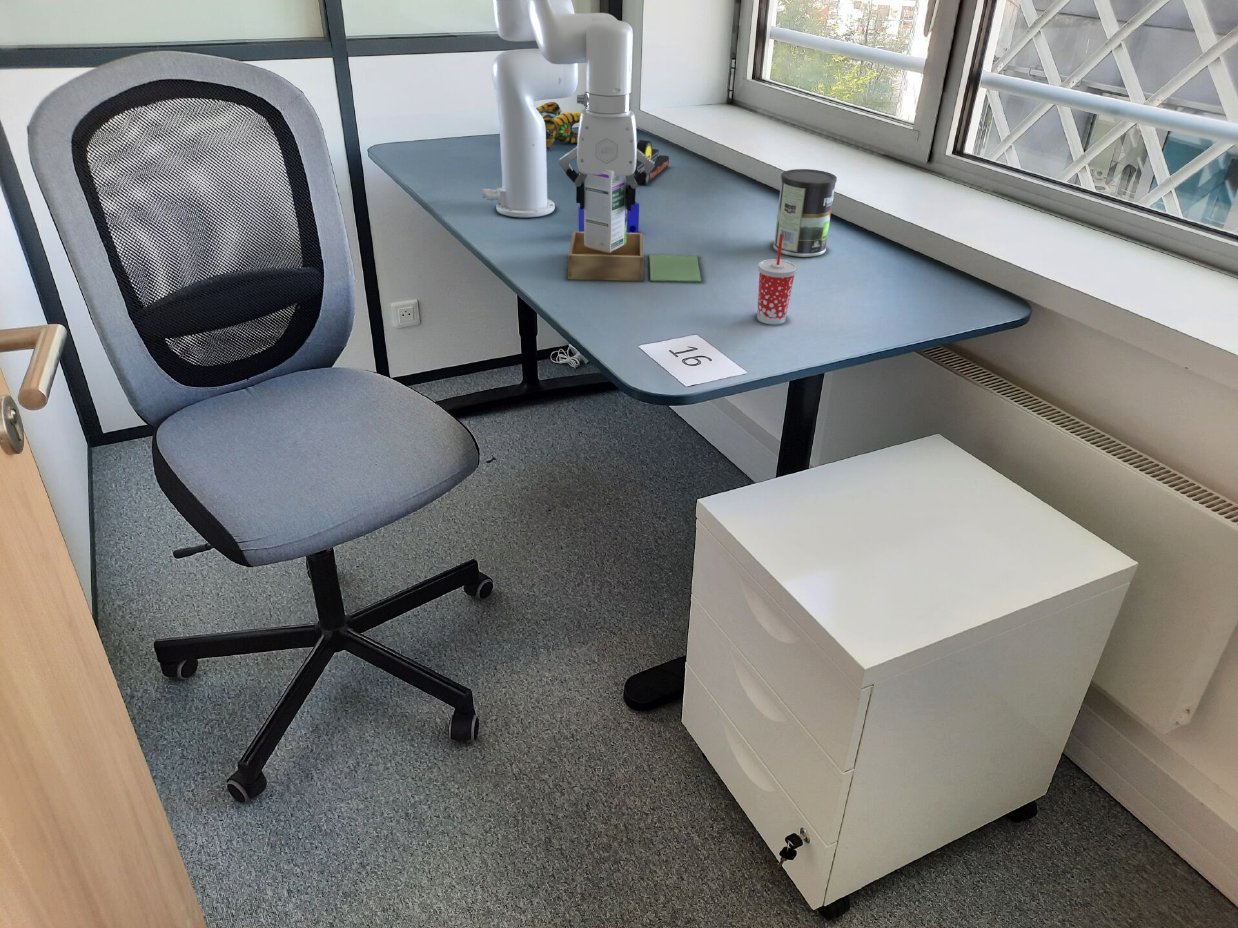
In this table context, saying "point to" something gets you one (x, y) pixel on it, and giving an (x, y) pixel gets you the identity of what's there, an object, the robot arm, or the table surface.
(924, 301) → the table surface
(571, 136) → the dog figurine
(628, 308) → the table surface
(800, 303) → the table surface
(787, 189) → the coffee can
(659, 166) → the decorative sign
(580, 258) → the tray
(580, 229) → the cable clip
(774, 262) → the beverage cup
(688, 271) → the mat
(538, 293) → the table surface
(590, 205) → the syrup box
